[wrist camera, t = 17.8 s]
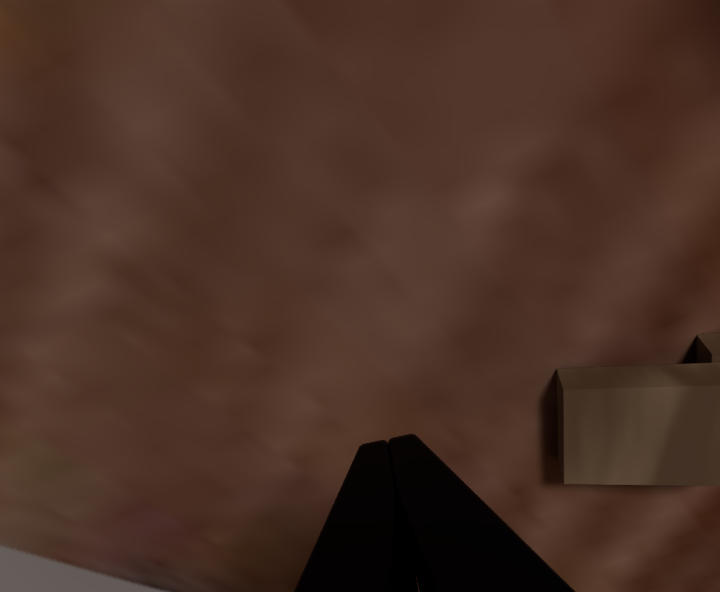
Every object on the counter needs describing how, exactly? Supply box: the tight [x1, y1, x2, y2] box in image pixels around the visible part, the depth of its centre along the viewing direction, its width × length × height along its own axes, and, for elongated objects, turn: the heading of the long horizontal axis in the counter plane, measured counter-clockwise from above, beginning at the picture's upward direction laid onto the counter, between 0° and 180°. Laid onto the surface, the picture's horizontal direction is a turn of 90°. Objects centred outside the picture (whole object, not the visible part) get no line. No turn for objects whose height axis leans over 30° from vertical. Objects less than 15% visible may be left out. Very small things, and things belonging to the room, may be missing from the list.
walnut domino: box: [557, 362, 720, 486], centre depth 21 cm, size 2×5×8 cm
